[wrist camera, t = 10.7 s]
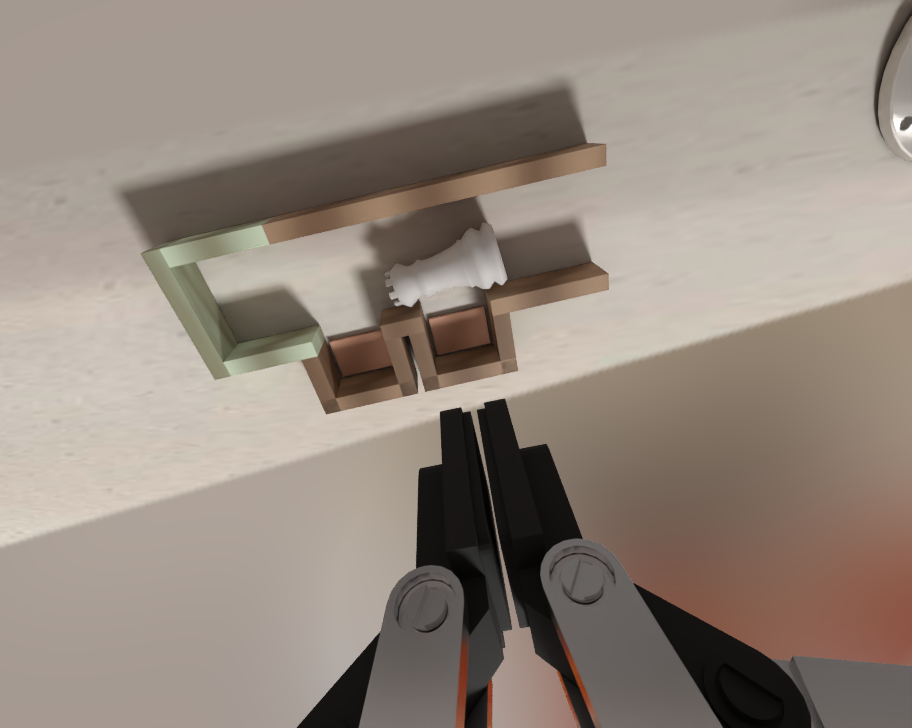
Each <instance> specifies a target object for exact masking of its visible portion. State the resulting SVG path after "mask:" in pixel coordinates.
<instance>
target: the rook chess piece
mask: <svg viewBox="0 0 912 728" xmlns="http://www.w3.org/2000/svg"><path fill="white" fill-rule="evenodd" d="M384 276H385V278H390V279H387V280H385V284H386V287H390V286H393V289H394V291H393V292H390V293H389V296H390V298H391V300H393V299H396V298H398V300H395V301H394V304H395V305H396V306H400V305H406V306H409V307H413V306H414V304H415V303H416V301H417V300H418V299H419V298H420V297H422V296H427V297H432V295H433V294H434V293H436V292H439V291H442V290H446V289H451V288H456V287H464V286H470V287H472V288H473V287H474V286H478V287H480V288H482V289H490V287H491V286H492V284H493V283H494V281H495V282H497V283H498V284H500V285H503V284H504V283H505V281H506V280H507V275H506V271H505V268H504V264H503V261H502V257H501V254H500V251H499V247H498V244H497V241H496V238H495V235H494V232H493V229H492V226H491V225H490V224H487V223H484V222H482V225H481V227H480V230H479V231H478V230H475V229H472V228H469V229H468V230H467V231H465V233H464V235H463V237H462V239H461V240H457V241H456V243H455V244H454V245H452V246H451V247H449V248H448V249H446V250H444V251H442V252H440V253H438V254H436V255H435V256H433V257H430V258H427V259H425V260H419V259H416V261H415V263H414V264H412V265H409V266H405V265H402V264H398V263H395V265H394V266H393V268H392V270H391V271H388V272H386V273H385V274H384Z"/></svg>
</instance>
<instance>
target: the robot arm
mask: <svg viewBox="0 0 912 728" xmlns="http://www.w3.org/2000/svg"><path fill="white" fill-rule="evenodd" d="M878 117H879V125H880V130H881V133H882V135H883V138H884V140H885V143H886V144H887V145H888V146H889V148H890V149H891V150H892V151H893V152H894V153H895V154H897V155H898V156H900V157H901V158H903V159H904V160H908V161H912V16H911V17H910V19H909V20H908V22H907V23H906V25H905V27H904V28H903V30H902V32H901V34H900V36H899V38H898V40H897V42H896V44H895V46H894V48H893V50H892V52H891V55H890V58H889V60H888V63H887V66H886V68H885V71H884V75H883V79H882V83H881V88H880V92H879V104H878ZM484 405H485V408H484V409H479V410H477V413H478V419H479V425H480V431H481V437H482V443H483V448H484V454H485V460H486V465H487V471H488V477H489V482H490V489H491V495H492V500H493V505H494V512H495V517H496V523H497V529H498V534H499V539H500V544H501V549H502V553H503V558H504V562H505V566H506V570H507V574H508V579H509V583H510V587H511V592H512V596H513V600H514V605H515V609H516V613H517V617H518V621H519V626H520V628H524V627H530V629H531V634H532V639H533V643H534V648H535V653H536V654H537V655H538V656H540V657H541V658H542V659H544V660H545V661H546V662H547V663H549V664H550V665H551V666H553V667H554V668H555V669H557V674H558V677H559V679H560V682H561V685H562V687H563V690H564V693H565V695H566V698H567V701H568V703H569V706H570V709H571V711H572V714H573V717H574V719H575V722H576V725H577V727H578V728H912V666H905V665H893V664H882V663H871V662H860V661H848V660H837V659H825V658H814V657H803V656H792V658H791V660H790V661H786V660H776V659H769V658H768V657H767V656H765V655H764V654H762V653H761V652H759V651H757V650H756V649H754V648H752V647H750V646H748V645H746V644H745V643H743V642H741V641H739V640H737V639H735V638H733V637H732V636H730V635H728V634H726V633H724V632H723V631H721V630H718V629H717V628H715V627H713V626H711V625H709V624H708V623H706V622H704V621H702V620H700V619H699V618H697V617H695V616H693V615H691V614H689V613H688V612H686V611H684V610H682V609H680V608H678V607H676V606H675V605H673V604H671V603H669V602H667V601H666V600H664V599H662V598H660V597H658V596H656V595H654V594H653V593H651V592H649V591H647V590H645V589H643V588H642V587H640V586H638V585H636V584H634V583H632V581H631V579H630V578H629V576H628V575H627V573H626V571H625V570H624V568H623V567H622V565H621V563H620V562H619V561H618V559H617V558H616V557H615V556H614V555H613V553H612V552H611V551H609V550H608V549H607V548H605V547H604V546H602V545H601V544H599V543H596V542H593V541H590V540H585V539H583V538H582V535H581V533H580V530H579V527H578V525H577V522H576V520H575V517H574V514H573V511H572V509H571V506H570V504H569V501H568V498H567V496H566V493H565V490H564V487H563V485H562V482H561V479H560V477H559V474H558V471H557V469H556V466H555V463H554V461H553V459H552V456H551V453H550V450H549V448H548V446H547V444H543V445H538V446H532V447H527V448H522V449H519V446H518V443H517V440H516V436H515V432H514V429H513V425H512V422H511V418H510V415H509V411H508V408H507V404H506V401H505V399H500V400H495V401H490V402H485V403H484ZM440 425H441V448H442V464H440V465H435V466H430V467H425V468H420V470H419V479H418V515H417V552H416V553H417V554H416V569H415V570H412V571H410V572H409V573H407V574H406V575H405V576H404V577H403V578H401V579H400V580H399V581H398V583H397V584H396V585H395V587H394V588H393V590H392V591H391V594H390V596H389V599H388V602H387V605H386V610H385V614H384V618H383V623H382V628H381V631H380V633H379V634H378V635H377V636H376V637H375V638H374V639H373V641H372V642H371V643H370V644H369V645H368V646H367V648H366V649H365V650H364V651H363V652H362V653H361V654H360V656H359V657H358V658H357V659H356V660H355V661H354V662H353V664H352V665H351V666H350V667H349V668H348V669H347V670H346V672H345V673H344V674H343V675H342V676H341V677H340V679H339V680H338V681H337V682H336V683H335V684H334V685H333V687H332V688H331V689H330V690H329V691H328V692H327V693H326V695H325V696H324V697H323V698H322V699H321V700H320V702H319V703H318V704H317V705H316V706H315V707H314V708H313V710H312V711H311V712H310V713H309V714H308V715H307V717H306V718H305V719H304V720H303V721H302V722H301V723H300V724H299V726H298V727H297V728H492V707H493V706H492V705H493V704H492V703H493V698H492V697H493V684H492V676H493V675H494V673H495V672H496V670H497V669H498V667H499V666H500V664H501V663H502V661H503V659H504V656H503V649H502V648H505V642H504V636H503V631H507V630H512V626H511V619H510V613H509V607H508V602H507V595H506V589H505V583H504V577H503V572H502V565H501V559H500V554H499V548H498V541H497V535H496V530H495V524H494V518H493V512H492V506H491V500H490V494H489V489H488V485H487V480H486V476H485V472H484V468H483V463H482V459H481V454H480V450H479V446H478V441H477V437H476V433H475V429H474V425H473V420H472V416H471V412H470V411H469V412H464V413H463V412H462V409H461V407H460V408H455V409H450V410H445V411H441V412H440Z"/></svg>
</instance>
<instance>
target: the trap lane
mask: <svg viewBox="0 0 912 728" xmlns="http://www.w3.org/2000/svg"><path fill="white" fill-rule="evenodd" d="M603 166H606V144H596V143H585V144H581V145H577V146H573V147H568V148H564V149H560V150H556V151H551V152H547V153H543V154H539V155H534V156H530V157H526V158H522V159H517V160H513V161H509V162H505V163H500V164H496V165H492V166H488V167H483V168H479V169H475V170H471V171H466V172H462V173H458V174H454V175H449V176H445V177H441V178H437V179H432V180H428V181H424V182H420V183H415V184H411V185H407V186H403V187H398V188H394V189H390V190H386V191H381V192H377V193H373V194H369V195H364V196H360V197H356V198H352V199H347V200H343V201H339V202H335V203H330V204H326V205H322V206H318V207H313V208H309V209H305V210H301V211H296V212H292V213H288V214H284V215H279V216H275V217H271V218H267V219H262V220H258V221H254V222H250V223H245V224H241V225H237V226H233V227H228V228H224V229H220V230H216V231H211V232H207V233H203V234H199V235H194V236H190V237H186V238H182V239H177V240H173V241H169V242H165V243H163V244H161V245H158V246H156V247H154V248H152V249H149V250H147V251H145V252H143V253H141V255H142V257H143V259H144V260H145V262H146V264H147V266H148V267H149V269H150V271H151V272H152V274H153V276H154V277H155V279H156V281H157V282H158V284H159V286H160V288H161V289H162V291H163V293H164V294H165V296H166V298H167V299H168V301H169V303H170V305H171V306H172V308H173V310H174V311H175V313H176V315H177V316H178V318H179V320H180V321H181V323H182V325H183V327H184V328H185V330H186V332H187V333H188V335H189V337H190V338H191V340H192V342H193V343H194V345H195V347H196V349H197V350H198V352H199V354H200V355H201V357H202V359H203V360H204V362H205V364H206V365H207V367H208V369H209V371H210V372H211V374H212V376H213V377H214V379H215V380H217V379H221V378H225V377H230V376H234V375H238V374H243V373H247V372H252V371H256V370H260V369H265V368H269V367H273V366H278V365H282V364H286V363H291V362H295V361H300V360H302V362H303V364H304V367H305V369H306V371H307V373H308V375H309V378H310V380H311V382H312V384H313V386H314V389H315V391H316V393H317V395H318V397H319V400H320V402H321V404H322V406H323V408H324V411H325V413H326V414H329V413H334V412H338V411H343V410H347V409H352V408H356V407H360V406H365V405H369V404H374V403H378V402H382V401H387V400H391V399H396V398H400V397H404V396H409V395H413V394H418V378H417V371H416V368H415V364H414V361H413V357H412V354H411V351H410V347H409V344H408V341H407V337H406V336H409V337H410V341H411V344H412V347H413V351H414V354H415V358H416V361H417V365H418V368H419V371H420V375H421V378H422V382H423V385H424V389H425V392H427V391H431V390H435V389H440V388H444V387H449V386H453V385H457V384H462V383H466V382H471V381H475V380H479V379H484V378H488V377H493V376H497V375H502V374H506V373H510V372H515V371H518V367H517V361H516V354H515V347H514V341H513V334H512V328H511V321H510V314H509V312H513V311H518V310H522V309H526V308H531V307H535V306H540V305H544V304H548V303H553V302H557V301H561V300H566V299H570V298H574V297H579V296H583V295H588V294H592V293H596V292H601V291H605V290H609V274H608V273H607V272H606V271H604V270H603V269H601V268H600V267H599V266H597V265H596V264H594V263H593V262H590V263H586V264H581V265H577V266H573V267H568V268H564V269H560V270H555V271H551V272H547V273H542V274H538V275H534V276H529V277H525V278H521V279H516V280H512V281H508V282H505V283H504V284H503V285H500V284H495V285H492V286H491V287H490V289H484V292H485V297H486V303H487V308H488V314H489V320H490V325H491V331H492V336H493V342H494V344H490V345H486V346H482V347H477V348H473V349H468V350H464V351H460V352H455V353H451V354H446V355H442V356H438V357H435V355H434V352H433V348H432V344H431V340H430V337H429V333H428V329H427V325H426V321H425V318H424V314H423V310H422V306H421V303H420V302H417V303H415V304H414V306H413V307H409V306H406V305H404V306H399V307H395V308H391V309H386V310H382V316H381V322H380V328H381V329H380V330H376V331H371V332H367V333H363V334H358V335H354V336H349V337H345V338H341V339H336V340H332V341H330V342H329V343H330V345H331V348H332V350H333V353H334V355H335V358H336V360H337V363H338V365H339V368H340V370H341V373H342V375H343V376H348V375H352V374H356V373H361V372H365V371H370V370H374V369H378V368H383V367H387V366H391V365H393V367H389V368H385V369H381V370H376V371H372V372H368V373H363V374H359V375H354V376H350V377H346V378H341V376H340V374H339V372H338V369H337V367H336V364H335V362H334V359H333V357H332V354H331V352H330V349H329V347H328V345H327V342H326V340H325V337H324V335H323V332H322V330H321V327H320V325H317V326H312V327H308V328H304V329H299V330H295V331H291V332H286V333H282V334H278V335H273V336H269V337H265V338H260V339H256V340H252V341H247V342H243V343H239V344H238V342H237V340H236V338H235V337H234V335H233V333H232V331H231V329H230V327H229V325H228V323H227V321H226V320H225V318H224V316H223V314H222V312H221V310H220V308H219V306H218V304H217V303H216V301H215V299H214V297H213V295H212V293H211V291H210V289H209V287H208V286H207V284H206V282H205V280H204V278H203V276H202V274H201V272H200V270H199V269H198V267H197V265H196V263H195V262H197V261H201V260H206V259H210V258H214V257H218V256H223V255H227V254H231V253H235V252H240V251H244V250H248V249H252V248H257V247H261V246H265V245H270V244H274V243H278V242H282V241H287V240H291V239H295V238H299V237H304V236H308V235H312V234H316V233H321V232H325V231H329V230H334V229H338V228H342V227H346V226H351V225H355V224H359V223H363V222H368V221H372V220H376V219H381V218H385V217H389V216H393V215H398V214H402V213H406V212H410V211H415V210H419V209H423V208H427V207H432V206H436V205H440V204H445V203H449V202H453V201H457V200H462V199H466V198H470V197H474V196H479V195H483V194H487V193H492V192H496V191H500V190H504V189H509V188H513V187H517V186H521V185H526V184H530V183H534V182H538V181H543V180H547V179H551V178H556V177H560V176H564V175H568V174H573V173H577V172H581V171H585V170H590V169H594V168H598V167H603ZM429 323H430V327H431V330H432V334H433V338H434V342H435V346H436V350H437V353H438V355H440V354H444V353H448V352H453V351H457V350H462V349H466V348H470V347H475V346H479V345H484V344H488V343H490V339H489V333H488V328H487V322H486V317H485V311H484V307H483V306H480V307H476V308H471V309H467V310H463V311H458V312H454V313H450V314H445V315H441V316H437V317H432V318H429Z"/></svg>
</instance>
